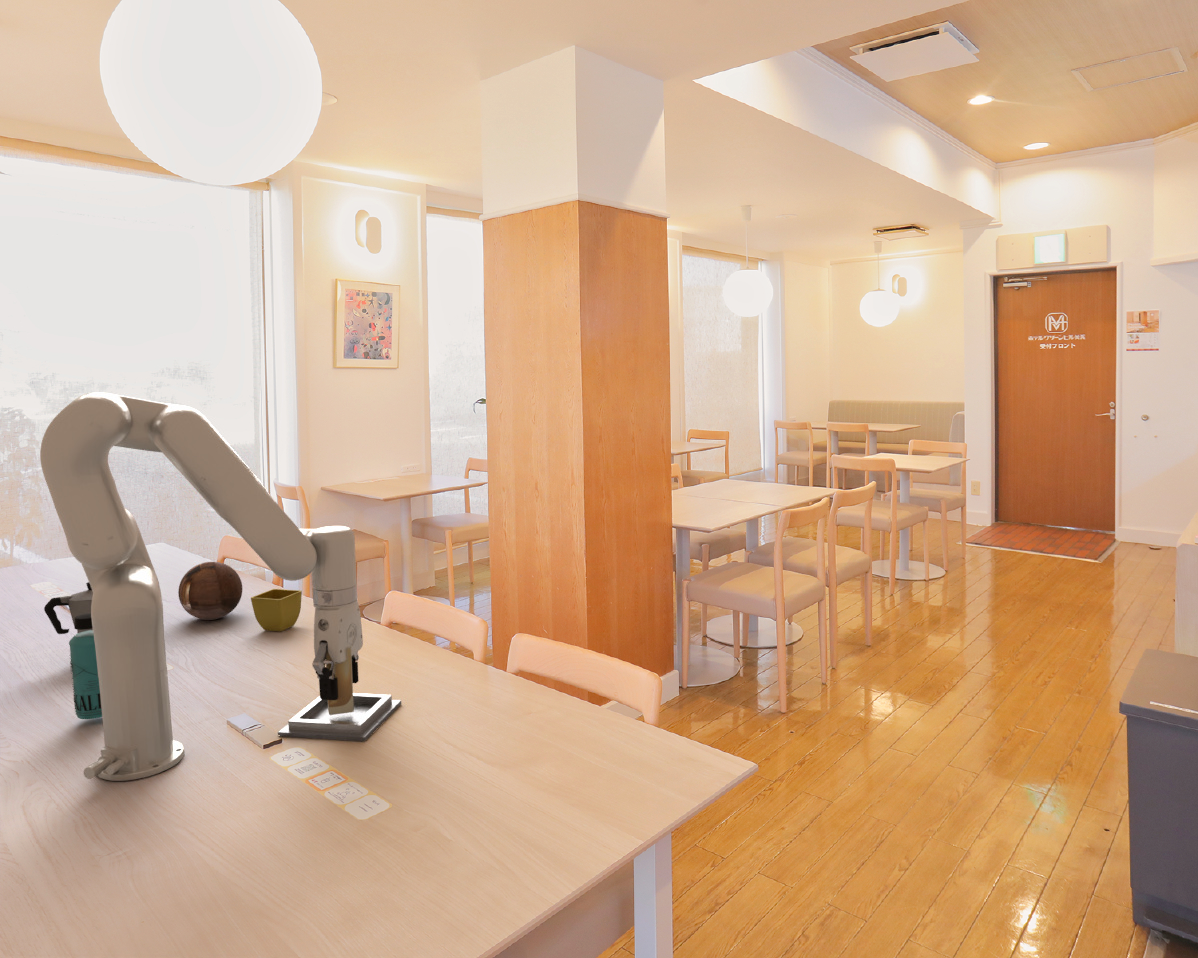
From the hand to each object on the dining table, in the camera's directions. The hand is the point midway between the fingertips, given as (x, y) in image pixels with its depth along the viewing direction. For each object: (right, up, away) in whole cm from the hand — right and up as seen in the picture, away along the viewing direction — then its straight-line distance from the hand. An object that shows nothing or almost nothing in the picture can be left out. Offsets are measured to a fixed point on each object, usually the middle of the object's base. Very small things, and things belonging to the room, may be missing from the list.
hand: (339, 689), depth 146 cm
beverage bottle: (-45, -6, +2) cm, 46 cm away
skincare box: (0, -4, 0) cm, 4 cm away
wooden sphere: (-54, +2, +64) cm, 84 cm away
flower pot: (-33, +1, +55) cm, 64 cm away
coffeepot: (-66, -2, +33) cm, 73 cm away
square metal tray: (0, -6, +1) cm, 6 cm away
